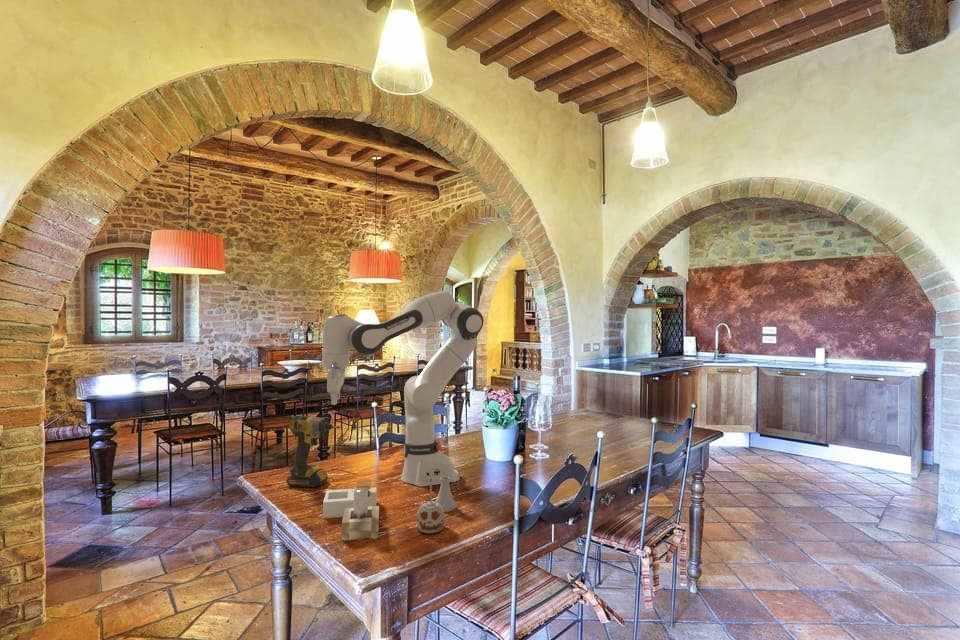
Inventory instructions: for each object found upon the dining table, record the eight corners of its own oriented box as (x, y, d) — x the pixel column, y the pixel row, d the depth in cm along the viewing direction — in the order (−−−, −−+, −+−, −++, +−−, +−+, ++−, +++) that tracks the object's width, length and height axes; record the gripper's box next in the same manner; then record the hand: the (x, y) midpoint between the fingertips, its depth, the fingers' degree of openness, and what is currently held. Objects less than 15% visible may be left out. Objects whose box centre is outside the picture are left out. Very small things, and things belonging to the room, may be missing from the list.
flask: (447, 514, 149) (447, 483, 149) (429, 509, 153) (429, 479, 153) (460, 507, 155) (460, 476, 155) (442, 502, 159) (442, 472, 159)
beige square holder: (378, 522, 143) (379, 506, 143) (378, 537, 133) (378, 520, 133) (344, 525, 141) (344, 508, 141) (341, 540, 131) (341, 522, 131)
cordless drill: (332, 491, 168) (333, 421, 168) (282, 486, 172) (282, 418, 172) (344, 482, 177) (345, 416, 177) (296, 478, 181) (297, 413, 181)
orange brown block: (370, 500, 156) (371, 479, 156) (370, 507, 150) (370, 485, 150) (357, 501, 155) (357, 479, 155) (356, 508, 149) (356, 486, 149)
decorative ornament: (415, 534, 135) (416, 482, 135) (419, 523, 143) (419, 473, 143) (442, 535, 135) (443, 483, 135) (444, 523, 143) (445, 474, 143)
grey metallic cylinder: (367, 527, 139) (368, 487, 139) (367, 533, 135) (367, 492, 135) (354, 528, 139) (354, 488, 138) (353, 534, 135) (353, 493, 135)
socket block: (376, 502, 158) (376, 487, 158) (375, 514, 148) (376, 498, 148) (326, 505, 155) (326, 490, 155) (322, 518, 145) (323, 502, 145)
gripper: (342, 364, 151) (342, 407, 152) (347, 358, 172) (347, 396, 172) (322, 364, 150) (322, 408, 150) (329, 359, 170) (329, 397, 170)
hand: (335, 401), depth 161 cm, fingers open, 8 cm apart
